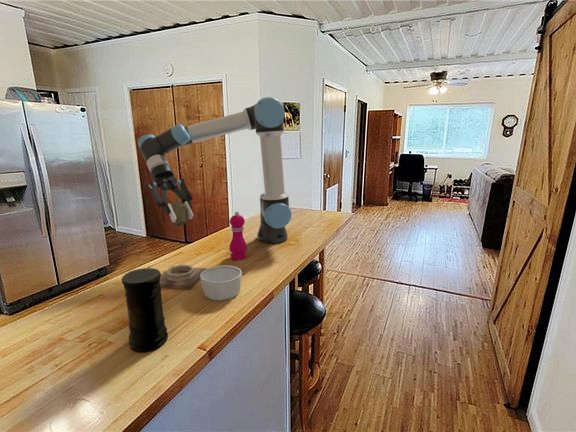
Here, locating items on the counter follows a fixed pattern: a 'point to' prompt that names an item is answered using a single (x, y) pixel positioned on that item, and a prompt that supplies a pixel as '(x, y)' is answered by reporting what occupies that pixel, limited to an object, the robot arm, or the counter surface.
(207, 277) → the ramekin
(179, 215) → the decorative egg
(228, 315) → the counter surface
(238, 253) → the pepper mill
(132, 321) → the container
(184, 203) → the robot arm
